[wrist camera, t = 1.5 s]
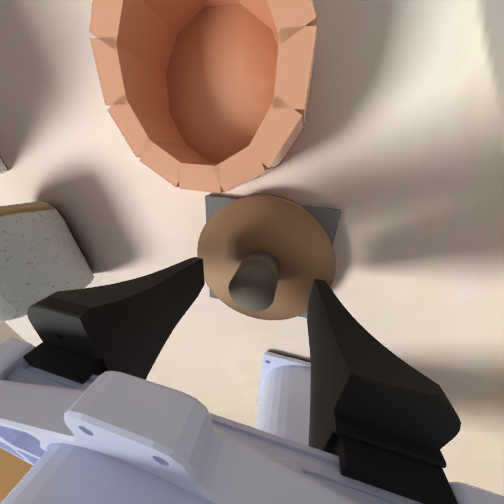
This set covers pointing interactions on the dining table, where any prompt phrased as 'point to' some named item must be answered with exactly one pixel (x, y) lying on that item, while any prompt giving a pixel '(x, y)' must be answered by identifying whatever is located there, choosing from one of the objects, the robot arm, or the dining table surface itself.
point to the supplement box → (2, 166)
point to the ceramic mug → (36, 257)
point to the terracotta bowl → (206, 83)
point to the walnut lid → (265, 256)
